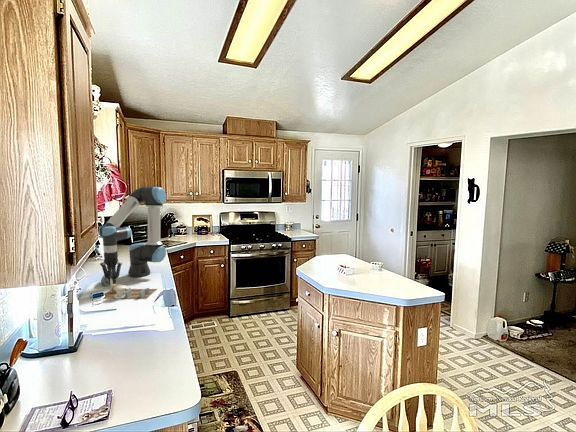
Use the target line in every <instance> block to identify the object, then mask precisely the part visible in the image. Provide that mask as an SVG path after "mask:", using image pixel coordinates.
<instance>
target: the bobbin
mask: <svg viewBox="0 0 576 432" xmlns="http://www.w3.org/2000/svg"><path fill="white" fill-rule="evenodd" d="M127 287H128V286H127V285H125V284H122V285H120V286H116V287H114V290H116V293H117V295H115V296H114V298H115V299H114V300H124V299H123V298H126V295H125V289H128V288H127Z"/></svg>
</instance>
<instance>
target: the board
mask: <svg viewBox="0 0 576 432" xmlns="http://www.w3.org/2000/svg"><path fill="white" fill-rule="evenodd" d="M143 289H144V288H131V296H130V297H128V298H123V299H122V300H147V299H148V298H149V297H150V296H152V294H154V293H155V292H157V290H158V288H149V294H147V295H145V296H143V297H142V298H140V297H139V292H140V291H142V290H143ZM128 290H129V288H126V289H125V292H127V291H128ZM104 294H105V297H104V298H103V299H102V300H116V299H115V298H114V296H115V295H117V293H112V290H111V289H110V290H108V291H107V292H105V293H104Z"/></svg>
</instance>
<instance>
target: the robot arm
mask: <svg viewBox="0 0 576 432" xmlns="http://www.w3.org/2000/svg"><path fill="white" fill-rule="evenodd" d="M166 201H167V193H166V190H164V188H162V187H160V186H141V187H138V188H137V189H135V190H133V191H132V192H131V193H129V195H128V196H127V197H126V200H125V202H123V204H121V206H120V207H119V208H118V209H117V210H116V212H114V213H113V215H112V216H111V218H109V219H108V220H107V221H106V223H105V224H104V225H101V226H98V227H99V235H100V236H99V237H98V238H101V239H102V243H103V244H102V247H103V258H104V259H103V261H102V262H100V263H99V265H100V267H101V269H102V271H103V276H104V275H105V278H108V279H109V284H110V290H112V286H114V285H115V284H117V279H118V278H119V277H120V274H121V273H120V272H121V267H122V265H123V262H122V261H121V262H120V261H119V259H118V257H119V256H118V241H123V240H126V239H129V238H131V237H132V235H133V231H132V229H131V227H129V226H123V227H121V225H122V224H123V222H125V220H126V219H127V218H129V216H130V215H131V213H132V212H133V211H134V210H135V209H136V208H137V207H139V206H140V205H142V204H145V207H146V209H147V241H146V242H139V243H134V244H131V245H130V246H129V250H128V251H129V265H130V266H129V269H128V272H127V273H128V274H127V275H128V277H129V276H130V278H142V277H143V278H144V277H146V276H147V277H148V276H150V275H151V269H150V267H149V264H148V263H154V264H155V263H161V262H162V261H163V260H164V259H165V258H166V255H167V249H166V247H165V246H163V245H164V244H163V242H162V241H161V210H162V209H161V208H163V206H164V205H163V204H165V202H166ZM116 278H117V279H116Z"/></svg>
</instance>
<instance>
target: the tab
mask: <svg viewBox="0 0 576 432" xmlns="http://www.w3.org/2000/svg"><path fill="white" fill-rule="evenodd" d="M120 285H123V284H122V283H115V285H114V286H112V293H116V290H114V287H116V286H120Z"/></svg>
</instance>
